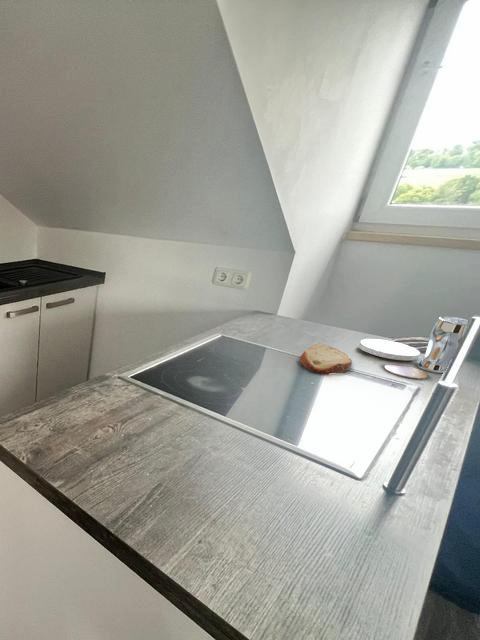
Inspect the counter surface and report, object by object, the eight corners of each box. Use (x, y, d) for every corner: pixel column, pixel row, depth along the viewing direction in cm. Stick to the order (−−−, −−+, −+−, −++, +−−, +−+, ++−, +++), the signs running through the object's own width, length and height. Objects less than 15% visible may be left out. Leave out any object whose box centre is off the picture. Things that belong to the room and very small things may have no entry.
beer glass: (444, 367, 114) (469, 318, 108) (453, 376, 109) (480, 325, 103) (412, 361, 118) (434, 314, 112) (419, 370, 112) (443, 321, 106)
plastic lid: (425, 366, 115) (429, 359, 114) (365, 358, 120) (368, 351, 119) (405, 349, 126) (408, 342, 125) (351, 343, 132) (354, 336, 131)
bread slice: (326, 349, 127) (330, 338, 125) (376, 374, 111) (381, 362, 109) (272, 350, 127) (275, 340, 125) (314, 375, 110) (319, 363, 109)
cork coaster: (418, 368, 114) (419, 367, 113) (433, 381, 106) (434, 380, 106) (379, 363, 117) (379, 362, 117) (391, 375, 110) (391, 374, 110)
